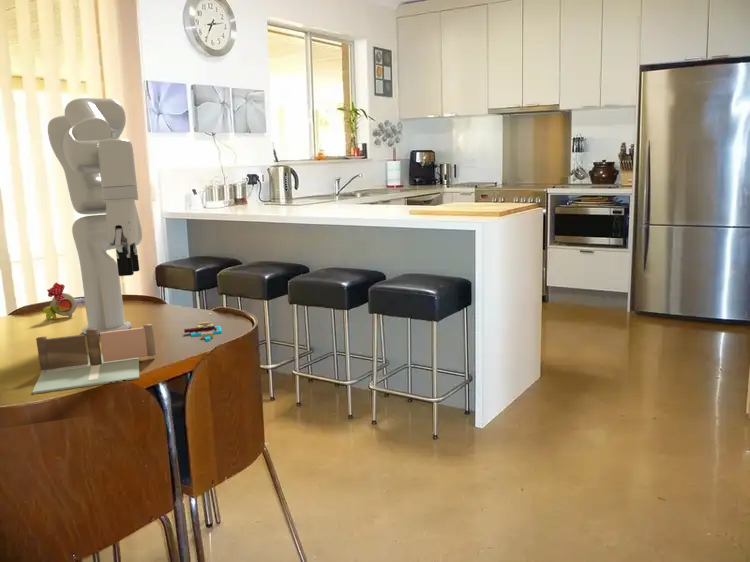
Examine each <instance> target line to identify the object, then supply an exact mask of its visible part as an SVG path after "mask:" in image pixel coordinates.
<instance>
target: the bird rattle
mask: <svg viewBox="0 0 750 562" xmlns="http://www.w3.org/2000/svg"><path fill="white" fill-rule="evenodd" d="M65 287H66V286H65V284H59V283H58V282H55V283H54V284H53V285H52V287H50V288H49V289H47V292H48V293H47V296H48V297H49V298H52V297H53V298H52V299H51V302H50V304H49V306H45V307H44V308H42V311H43V313H45V318H46V319H48V320H49V319H51V317H52V319H53V320H55V319H56V318H57V319H58V317H57V315H59V316H62V317H69V316H71V317H72V316H73V313H74V312H75V311H76V310H77V306H78V305H77V304H78V303H77V299H76V298H75V297H74V296H73V295H71V294H70V293H65V292H64V289H65ZM56 314H57V315H56ZM57 319H56V320H57Z"/></svg>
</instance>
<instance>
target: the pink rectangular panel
mask: <svg viewBox="0 0 750 562" xmlns="http://www.w3.org/2000/svg"><path fill="white" fill-rule="evenodd" d="M153 325H154V324H152V323H145V324H143V326H142V327H135V328H129V329H124V330H116V331H108V332H100V335H99V339H100V345H101V346H100V347H101V353H102V354H103V362H109V361H117V360H124V359H132V358H139V359H140V358H146V357H154V356H155V355H157V352H156V344H155V343H156V342H155V335H154V334H155V333H154V326H153Z"/></svg>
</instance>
